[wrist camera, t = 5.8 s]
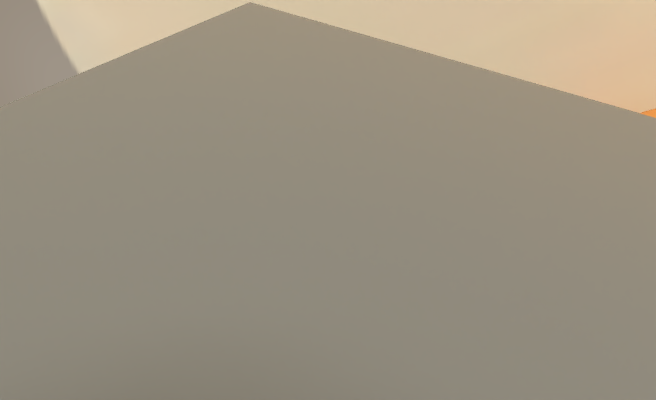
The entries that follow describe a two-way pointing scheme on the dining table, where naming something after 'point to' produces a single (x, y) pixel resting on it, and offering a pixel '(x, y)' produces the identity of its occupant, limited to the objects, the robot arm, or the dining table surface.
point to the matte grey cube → (322, 227)
